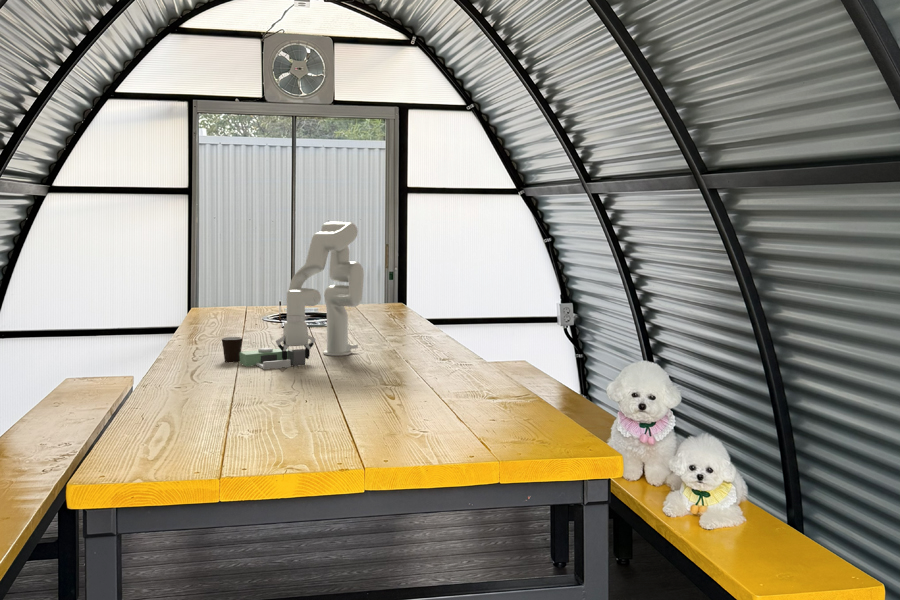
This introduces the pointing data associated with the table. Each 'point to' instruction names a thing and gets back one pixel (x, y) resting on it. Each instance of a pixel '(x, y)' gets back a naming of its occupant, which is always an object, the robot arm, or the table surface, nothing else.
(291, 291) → the robot arm
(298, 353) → the grey block
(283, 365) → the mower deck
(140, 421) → the table surface
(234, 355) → the coffee mug
